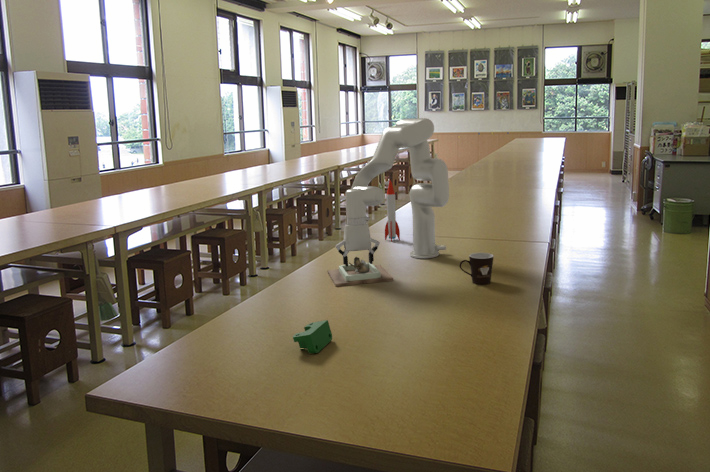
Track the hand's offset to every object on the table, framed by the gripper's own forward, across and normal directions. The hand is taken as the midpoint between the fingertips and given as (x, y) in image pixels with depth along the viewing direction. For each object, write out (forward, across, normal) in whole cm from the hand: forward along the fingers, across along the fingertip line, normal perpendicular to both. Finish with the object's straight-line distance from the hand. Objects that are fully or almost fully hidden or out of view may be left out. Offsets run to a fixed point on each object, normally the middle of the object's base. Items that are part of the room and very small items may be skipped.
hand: (358, 264), depth 217 cm
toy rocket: (+5, -29, -57) cm, 64 cm away
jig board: (+5, 0, 0) cm, 5 cm away
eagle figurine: (+3, 0, +3) cm, 4 cm away
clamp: (+5, +26, +63) cm, 68 cm away
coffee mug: (+5, -39, +23) cm, 46 cm away
